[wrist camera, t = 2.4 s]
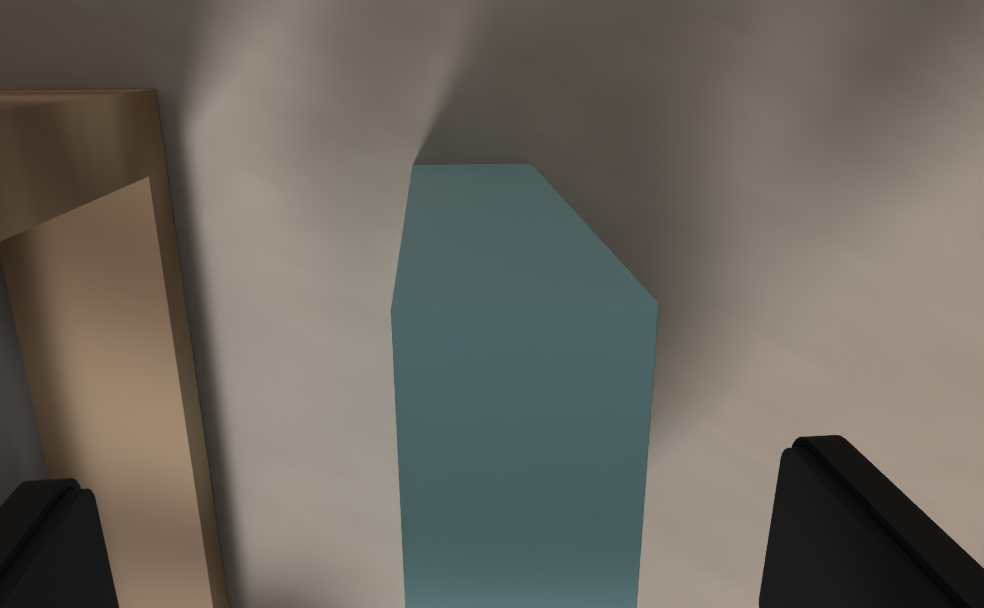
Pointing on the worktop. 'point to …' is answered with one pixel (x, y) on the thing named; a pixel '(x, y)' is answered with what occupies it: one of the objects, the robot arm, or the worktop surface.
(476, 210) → the door panel
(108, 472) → the cabinet track
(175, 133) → the worktop surface
